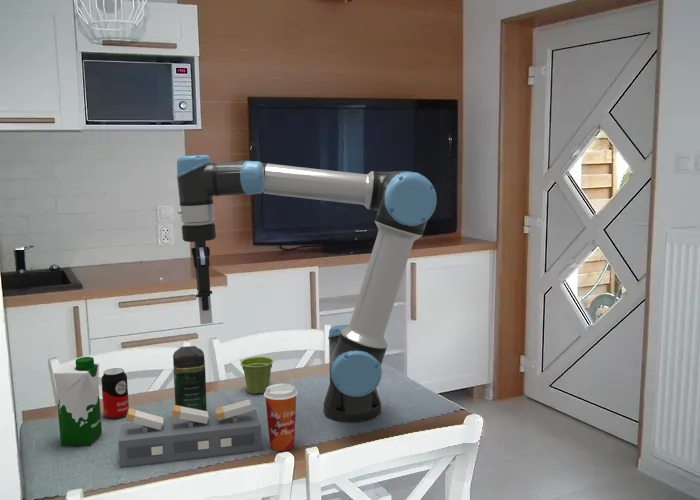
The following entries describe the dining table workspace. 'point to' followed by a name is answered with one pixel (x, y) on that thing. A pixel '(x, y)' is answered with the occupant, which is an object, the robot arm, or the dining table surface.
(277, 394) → the paper cup
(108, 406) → the beverage can
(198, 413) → the rocker
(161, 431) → the console
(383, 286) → the robot arm
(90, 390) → the milk carton
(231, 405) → the rocker
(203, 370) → the coffee jar
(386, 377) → the dining table surface
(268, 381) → the plant pot
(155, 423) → the rocker
